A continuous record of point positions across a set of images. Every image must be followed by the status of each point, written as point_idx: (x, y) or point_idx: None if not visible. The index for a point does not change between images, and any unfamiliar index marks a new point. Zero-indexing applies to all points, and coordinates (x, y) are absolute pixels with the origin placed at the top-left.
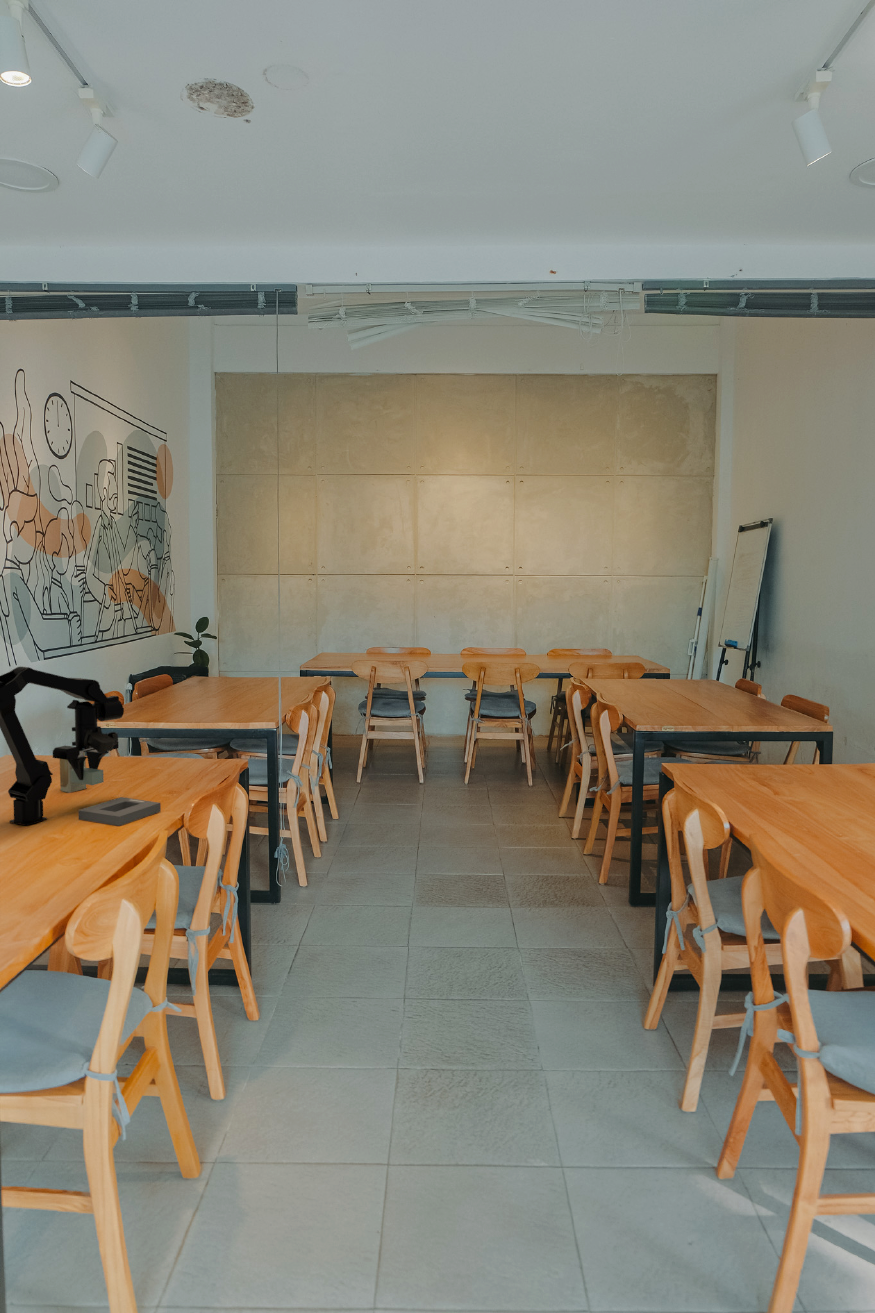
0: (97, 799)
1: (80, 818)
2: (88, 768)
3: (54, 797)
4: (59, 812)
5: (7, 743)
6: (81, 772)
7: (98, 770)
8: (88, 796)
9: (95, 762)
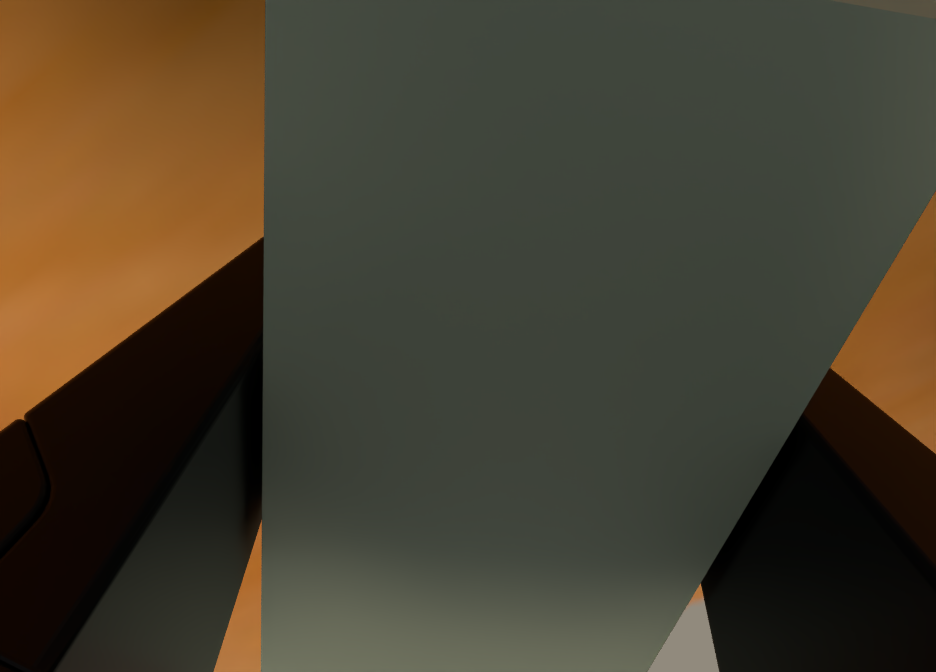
0: (66, 163)
1: None
2: (315, 540)
3: (257, 551)
4: None
5: None
6: (896, 437)
7: (465, 76)
8: (35, 337)
9: (144, 591)
